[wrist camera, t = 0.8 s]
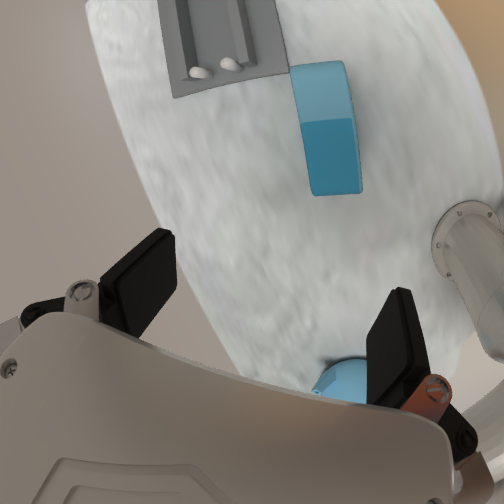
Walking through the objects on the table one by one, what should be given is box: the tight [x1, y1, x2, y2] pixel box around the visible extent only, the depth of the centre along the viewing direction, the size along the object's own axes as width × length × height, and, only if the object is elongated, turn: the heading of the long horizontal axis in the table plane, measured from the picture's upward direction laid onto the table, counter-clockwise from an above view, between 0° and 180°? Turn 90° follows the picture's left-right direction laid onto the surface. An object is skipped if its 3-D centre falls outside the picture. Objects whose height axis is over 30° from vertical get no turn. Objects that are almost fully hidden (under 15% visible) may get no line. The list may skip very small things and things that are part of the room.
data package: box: [290, 61, 363, 196], centre depth 24 cm, size 12×4×12 cm, turn 12°
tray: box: [157, 0, 290, 98], centre depth 24 cm, size 16×19×5 cm
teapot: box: [311, 359, 367, 404], centre depth 45 cm, size 15×15×11 cm
